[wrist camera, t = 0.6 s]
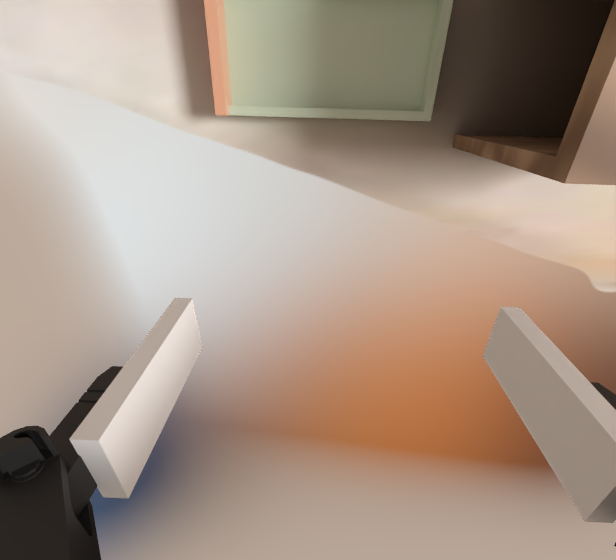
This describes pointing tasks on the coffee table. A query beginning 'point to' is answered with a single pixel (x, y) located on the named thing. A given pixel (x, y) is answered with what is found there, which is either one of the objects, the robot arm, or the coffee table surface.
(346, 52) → the tray
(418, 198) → the coffee table surface
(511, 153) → the open wooden crate
